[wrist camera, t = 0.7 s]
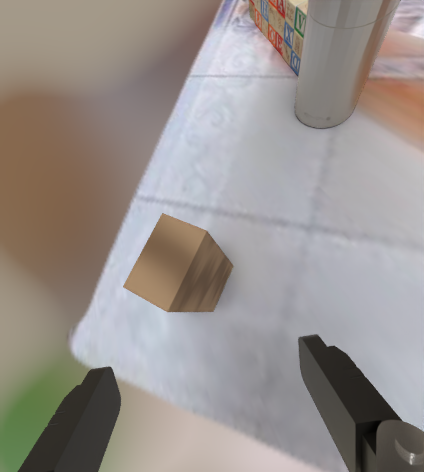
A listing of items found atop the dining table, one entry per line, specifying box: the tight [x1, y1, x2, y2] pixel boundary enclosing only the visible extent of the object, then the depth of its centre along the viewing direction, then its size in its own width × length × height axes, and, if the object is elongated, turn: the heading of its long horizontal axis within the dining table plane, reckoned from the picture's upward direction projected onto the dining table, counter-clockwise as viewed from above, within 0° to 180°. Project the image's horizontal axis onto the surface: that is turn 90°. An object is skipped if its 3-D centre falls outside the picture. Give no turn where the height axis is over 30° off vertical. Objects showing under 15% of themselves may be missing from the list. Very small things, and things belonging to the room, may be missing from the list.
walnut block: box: [123, 213, 234, 312], centre depth 26 cm, size 7×4×16 cm, turn 155°
